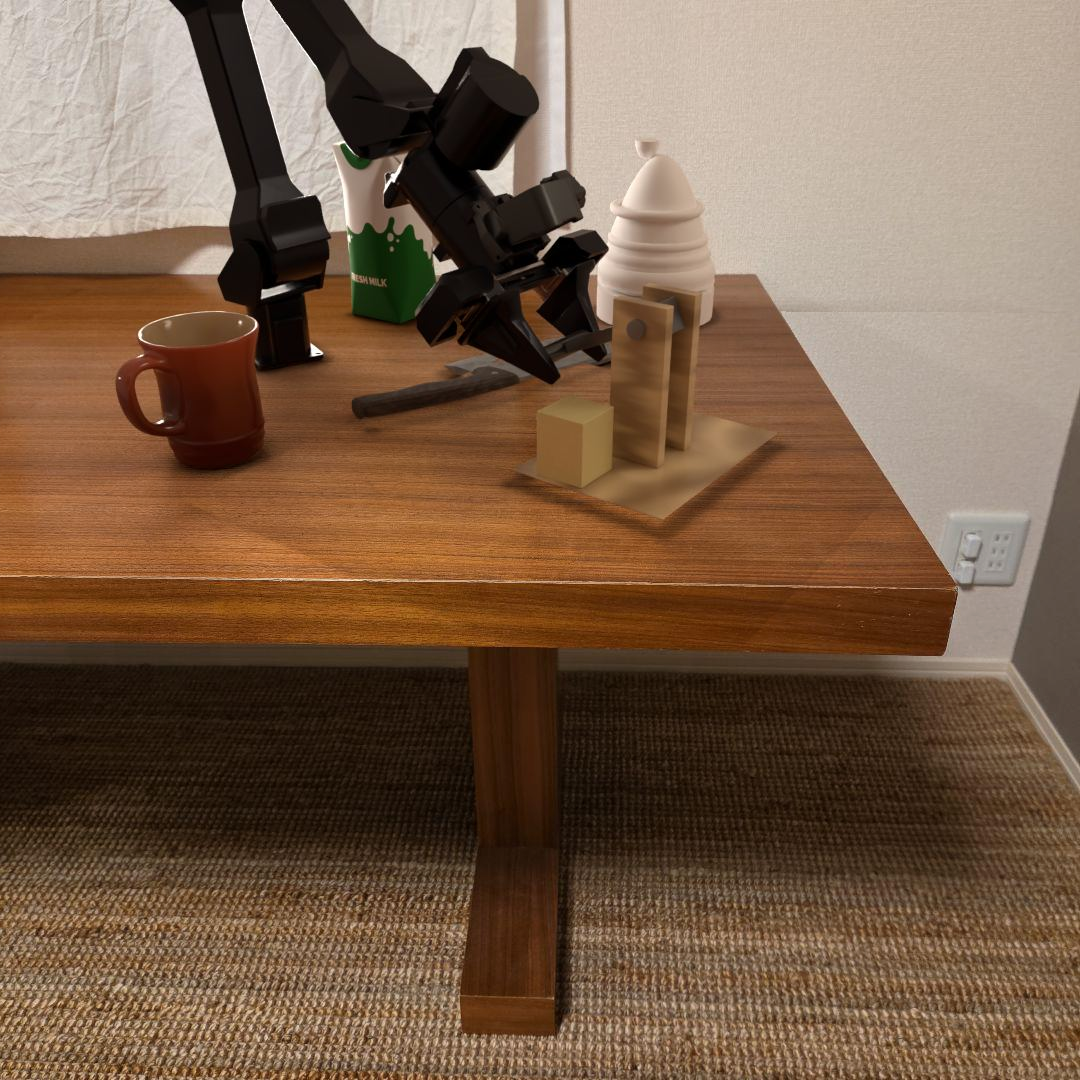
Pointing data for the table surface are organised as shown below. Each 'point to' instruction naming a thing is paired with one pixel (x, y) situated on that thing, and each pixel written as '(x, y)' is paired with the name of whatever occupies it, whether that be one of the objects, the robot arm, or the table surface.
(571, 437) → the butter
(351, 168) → the milk carton
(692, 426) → the wooden stand
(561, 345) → the dark grey t-shaped bar
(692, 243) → the honey pot
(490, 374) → the cleaver
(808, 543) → the table surface
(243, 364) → the mug
